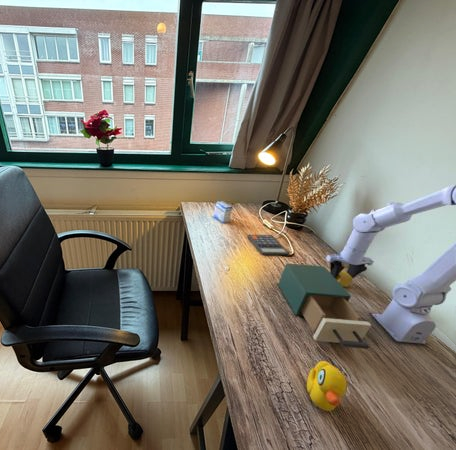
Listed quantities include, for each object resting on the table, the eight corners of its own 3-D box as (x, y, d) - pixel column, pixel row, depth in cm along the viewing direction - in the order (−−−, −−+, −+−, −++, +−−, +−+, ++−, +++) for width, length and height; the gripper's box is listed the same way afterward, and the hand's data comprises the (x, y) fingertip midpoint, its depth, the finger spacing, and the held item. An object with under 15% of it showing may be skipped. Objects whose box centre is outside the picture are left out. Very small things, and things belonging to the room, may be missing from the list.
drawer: (370, 360, 61) (385, 341, 57) (324, 356, 61) (336, 337, 57) (331, 308, 76) (340, 290, 72) (293, 305, 76) (301, 287, 72)
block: (348, 286, 86) (352, 278, 85) (336, 286, 87) (341, 277, 85) (339, 277, 91) (343, 269, 89) (328, 276, 91) (332, 268, 89)
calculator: (272, 234, 115) (289, 253, 102) (271, 236, 115) (288, 254, 102) (248, 234, 114) (262, 252, 101) (247, 235, 114) (261, 254, 101)
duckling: (335, 434, 47) (358, 406, 43) (304, 418, 49) (322, 390, 45) (330, 382, 56) (349, 354, 52) (304, 370, 58) (319, 342, 54)
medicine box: (213, 216, 131) (216, 201, 127) (219, 215, 133) (223, 200, 129) (222, 223, 125) (226, 207, 121) (229, 221, 127) (233, 206, 123)
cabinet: (338, 318, 73) (351, 296, 69) (295, 315, 73) (306, 292, 69) (314, 287, 85) (324, 266, 81) (278, 284, 85) (286, 263, 81)
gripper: (369, 242, 85) (352, 273, 91) (327, 239, 85) (313, 270, 92) (385, 253, 79) (366, 286, 85) (340, 250, 79) (324, 282, 85)
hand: (339, 278), depth 88 cm, fingers open, 5 cm apart
